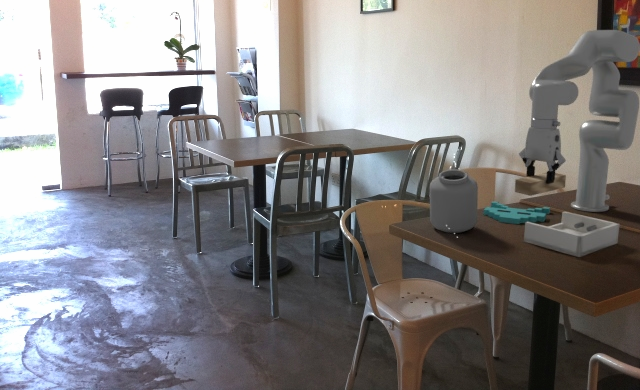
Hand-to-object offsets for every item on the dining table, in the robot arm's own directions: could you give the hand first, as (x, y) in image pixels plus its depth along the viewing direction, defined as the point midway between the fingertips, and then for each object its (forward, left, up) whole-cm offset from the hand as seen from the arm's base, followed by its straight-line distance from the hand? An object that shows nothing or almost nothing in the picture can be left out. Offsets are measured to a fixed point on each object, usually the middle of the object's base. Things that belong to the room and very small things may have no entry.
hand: (540, 180), depth 197 cm
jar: (+21, -17, -16) cm, 31 cm away
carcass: (+3, +14, -16) cm, 21 cm away
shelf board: (0, 0, -3) cm, 3 cm away
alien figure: (-9, -15, -17) cm, 24 cm away
